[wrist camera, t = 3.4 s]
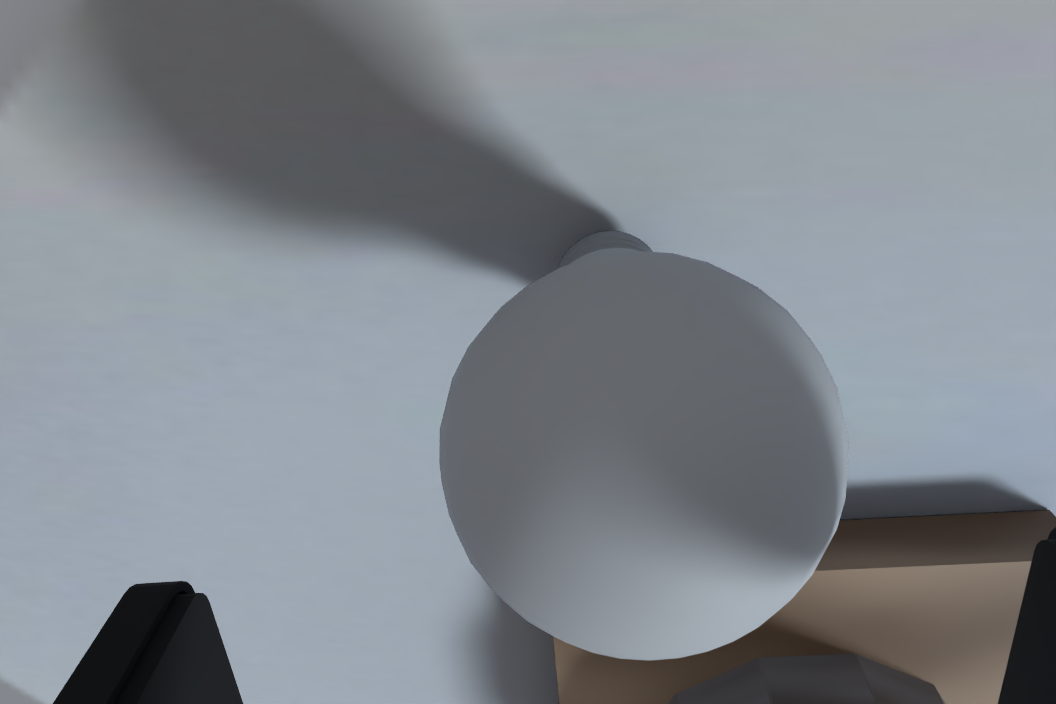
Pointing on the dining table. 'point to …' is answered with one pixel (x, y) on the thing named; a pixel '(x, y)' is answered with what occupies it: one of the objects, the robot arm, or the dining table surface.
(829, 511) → the lightbulb
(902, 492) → the dining table surface
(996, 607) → the socket base
